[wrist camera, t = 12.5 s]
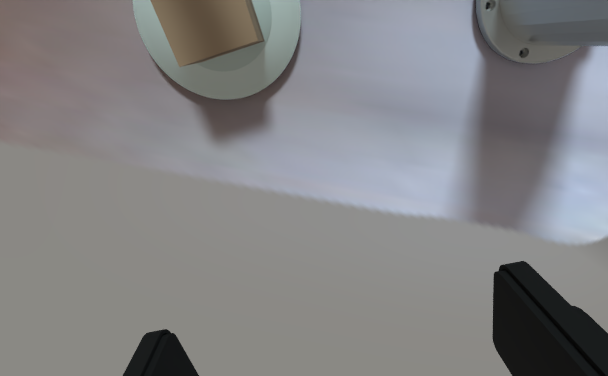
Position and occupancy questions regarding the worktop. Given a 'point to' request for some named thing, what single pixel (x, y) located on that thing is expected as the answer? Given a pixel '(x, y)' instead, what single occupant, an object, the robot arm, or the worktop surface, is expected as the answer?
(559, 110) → the worktop surface
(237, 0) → the walnut block
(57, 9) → the worktop surface
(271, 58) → the dish
